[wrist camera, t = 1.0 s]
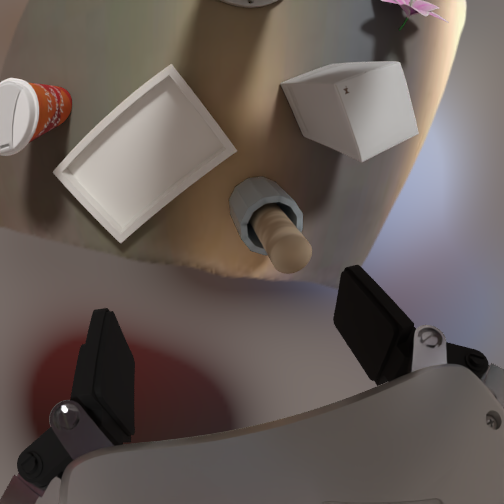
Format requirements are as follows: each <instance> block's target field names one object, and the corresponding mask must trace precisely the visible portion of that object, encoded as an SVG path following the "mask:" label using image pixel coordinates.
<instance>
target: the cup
mask: <svg viewBox="0 0 504 504" xmlns="http://www.w3.org/2000/svg"><path fill="white" fill-rule="evenodd" d="M274 202H276V204H277V205H278V206H279V207H280V208H281V209H282V211H283V212H284V213H285V214H286V215H287V217H288V218H289V219H290V220H291V221H292V223H293V224H294V225H295V226H296V227H297V229H298V230H299V231H300V232H301V231H302V229H303V213H302V212H301V210H300V209H299V207H298V206H297V204H296V202H295V201H294V200H293V199H292V198H291V197H290V196H289V195H288V194H287V193H286V192H285V191H284V190H283V189H282V188H281V187H280V186H279V185H278V184H277V183H276V182H274V181H272V180H269V179H267V178H265V177H263V176H261V177H253V178H247V179H246V180H244V181H243V182H242V183H240V184H239V185H237V186H236V187H235V189H234V191H233V193H232V195H231V197H230V199H229V206H230V215H231V217H232V219H233V222H234V224H235V226H236V228H237V231H238V233H239V235H240V237H241V240H242V241H243V242H244V243H245V244H246V245H247V247H248V248H249V249H250V251H253V252H256V253H259V254H262V255H268V254H267V252H266V251H265V249H264V247H263V245H262V243H261V241H260V240H259V238H258V236H257V234H256V232H255V231H254V229H253V227H252V225H251V223H250V222H249V219H250V218H251V216H252V214H253V212H254V211H256V210H257V209H258V208H260V207H261V206H263V205H264V204H267V203H274Z"/></svg>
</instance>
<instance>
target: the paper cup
mask: <svg viewBox="0 0 504 504" xmlns="http://www.w3.org/2000/svg"><path fill="white" fill-rule="evenodd" d="M71 109H72V99H71V96H70V94H69V92H68V91H67V90H65V89H64V88H61V87H57V86H51V85H43V84H34V83H27V82H26V81H24V80H21V79H15V78H9V79H6V80H4V81H2V82H1V83H0V155H3V156H8V155H13V154H15V153H17V152H19V151H21V150H22V149H23V148H24V147H25V146H26V145H27V144H28V143H30V142H31V141H33V140H34V139H36V138H38V137H39V136H41V135H43V134H44V133H46V132H48V131H50V130H52V129H53V128H55V127H57V126H59V125H60V124H62V123H63V122H64V121H65V120H66V119H67V118H68V116H69V114H70V112H71Z"/></svg>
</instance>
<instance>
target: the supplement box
mask: <svg viewBox="0 0 504 504" xmlns="http://www.w3.org/2000/svg"><path fill="white" fill-rule="evenodd" d="M281 87H282V89H283V91H284V93H285V95H286V98H287V100H288V102H289V104H290V106H291V109H292V111H293V113H294V116H295V118H296V120H297V123H298V125H299V127H300V130H301V132H302V134H303V136H304V137H306V138H308V139H311V140H313V141H315V142H318V143H320V144H323V145H325V146H327V147H330V148H332V149H334V150H336V151H339V152H341V153H343V154H345V155H347V156H349V157H351V158H354V159H356V160H358V161H360V162H364V161H365V160H367V159H369V158H371V157H373V156H375V155H377V154H379V153H381V152H383V151H385V150H387V149H389V148H391V147H393V146H395V145H397V144H399V143H401V142H403V141H405V140H407V139H409V138H411V137H413V136H415V135H417V134H419V133H418V129H417V124H416V119H415V115H414V111H413V107H412V103H411V99H410V95H409V91H408V87H407V83H406V80H405V76H404V73H403V70H402V67H401V64H400V62H395V61H377V62H353V63H338V64H330V65H327V66H324V67H321V68H318V69H315V70H312V71H310V72H307V73H304V74H302V75H299V76H296V77H294V78H291V79H289V80H286V81H284V82H282V83H281Z"/></svg>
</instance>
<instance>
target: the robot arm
mask: <svg viewBox="0 0 504 504" xmlns="http://www.w3.org/2000/svg"><path fill="white" fill-rule="evenodd" d="M220 1H222V2H225V3H227V4H230V5H234V6H238V7H246V8H251V7H261V6H266V5H269V4H272V3H274V2H276V1H278V0H220ZM248 1H250V2H251V4H250V3H248ZM333 320H334V324H335V326H336V328H337V329H338V331H339V332H340V334H341V335H342V337H343V339H344V340H345V341H346V343H347V345H348V346H349V348H350V349H351V351H352V352H353V354H354V355H355V357H356V358H357V360H358V361H359V363H360V364H361V366H362V368H363V369H364V370H365V372H366V374H367V375H368V377H369V378H370V379H371V380H372V381H373V380H374V381H375V382H376V384H377V387H375V388H372V389H370V390H367V391H365V392H362V393H360V394H357V395H354V396H352V397H349V398H346V399H344V400H341V401H338V402H335V403H332V404H329V405H326V406H323V407H320V408H317V409H314V410H311V411H308V412H304V413H301V414H297V415H294V416H291V417H287V418H283V419H279V420H276V421H272V422H267V423H264V424H259V425H255V426H250V427H246V428H241V429H236V430H231V431H227V432H221V433H215V434H209V435H203V436H196V437H189V438H181V439H173V440H165V441H155V442H144V443H135V444H125V445H123V442H131V435H134V433H135V427H134V372H135V369H134V368H135V362H134V358H133V355H132V353H131V351H130V349H129V346H128V344H127V342H126V340H125V338H124V335H123V333H122V331H121V328H120V326H119V324H118V321H117V319H116V317H115V314H114V312H113V311H111V312H110V311H109V310H108V308H105V309H98V310H94V311H93V314H92V318H91V322H90V326H89V330H88V334H87V339H86V343H85V344H83V345H82V346H81V348H80V351H79V356H78V360H77V366H76V371H75V376H74V381H73V387H72V393H71V399H70V400H65V401H62V402H60V403H58V404H57V405H56V406H55V407H54V408H53V409H52V411H51V413H50V418H49V419H50V425H51V427H50V428H49V429H48V430H47V431H46V432H45V433H43V434H42V435H41V436H40V437H39V438H38V439H37V440H35V441H34V442H33V443H32V444H31V445H30V446H29V447H27V448H26V449H25V450H24V451H23V452H22V453H21V454H20V456H19V458H18V462H17V468H18V472H19V473H18V475H17V476H16V475H14V476H13V477H12V479H11V481H10V483H9V485H8V486H7V488H6V490H5V492H4V494H3V496H2V497H1V499H0V504H504V369H502V368H500V367H498V366H496V365H494V364H492V363H491V365H488V361H487V359H486V357H485V356H484V355H483V353H481V352H480V351H477V350H475V349H470V348H467V347H463V346H459V345H455V344H451V343H447V342H446V339H445V336H444V334H443V333H442V332H441V331H440V330H439V329H438V328H436V327H434V326H430V325H423V326H420V327H418V328H417V329H416V328H415V327H414V323H413V322H412V321H411V320H410V319H409V318H408V317H407V315H406V314H405V313H404V312H403V311H402V310H401V309H400V308H399V307H398V306H397V304H396V303H395V302H394V301H393V300H392V299H391V298H390V297H389V296H388V295H387V294H386V293H385V292H384V290H383V289H382V288H381V287H380V286H379V285H378V284H377V283H376V282H375V281H374V280H373V279H372V278H371V277H370V276H369V275H368V274H367V273H366V272H365V271H364V270H363V269H362V268H361V266H359V265H355V266H350V267H346V268H345V269H344V271H343V272H342V273H341V278H340V284H339V290H338V296H337V302H336V308H335V313H334V319H333ZM386 382H387V383H386ZM383 383H385V384H383ZM381 384H382V385H381ZM378 385H380V386H378Z"/></svg>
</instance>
